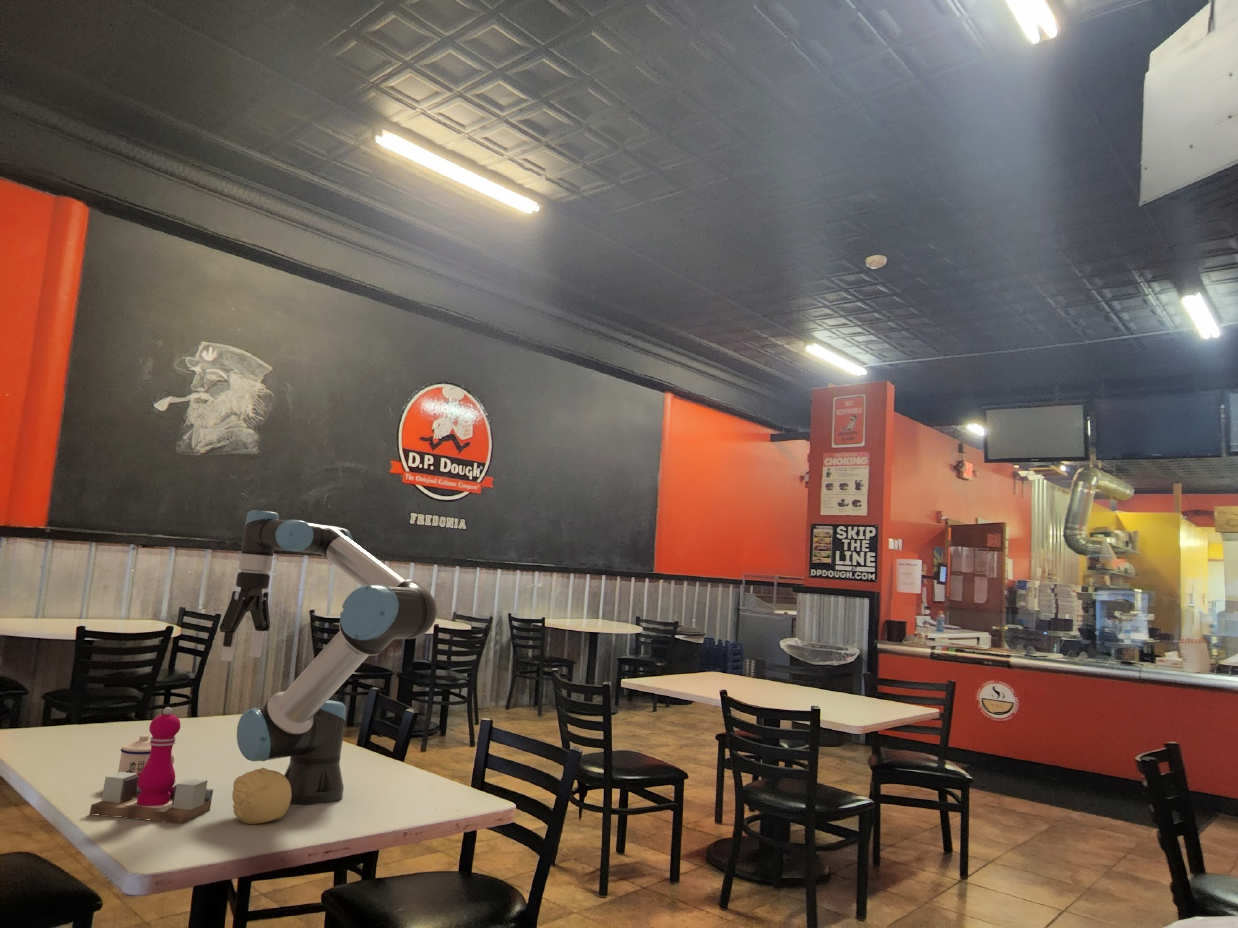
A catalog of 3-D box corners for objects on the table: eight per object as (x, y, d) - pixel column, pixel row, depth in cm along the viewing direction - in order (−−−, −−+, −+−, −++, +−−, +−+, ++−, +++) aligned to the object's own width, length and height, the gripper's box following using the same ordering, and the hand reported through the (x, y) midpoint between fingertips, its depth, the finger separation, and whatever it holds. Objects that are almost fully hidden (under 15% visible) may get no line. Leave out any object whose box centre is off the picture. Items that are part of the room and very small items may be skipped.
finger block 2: (203, 803, 176) (207, 780, 177) (190, 809, 171) (194, 785, 172) (183, 801, 177) (187, 778, 177) (170, 807, 172) (174, 783, 173)
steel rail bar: (211, 800, 179) (213, 789, 180) (208, 801, 178) (210, 790, 179) (125, 792, 181) (127, 780, 181) (122, 793, 179) (124, 782, 180)
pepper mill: (142, 808, 170) (158, 710, 173) (128, 800, 174) (143, 705, 177) (177, 802, 175) (192, 708, 178) (163, 796, 180) (177, 703, 183)
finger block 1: (136, 797, 177) (140, 773, 178) (121, 802, 172) (125, 778, 173) (116, 795, 177) (120, 771, 178) (101, 800, 173) (105, 776, 173)
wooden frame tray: (210, 809, 179) (211, 800, 179) (180, 823, 168) (182, 813, 168) (124, 801, 180) (125, 791, 181) (89, 814, 169) (91, 804, 170)
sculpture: (220, 817, 175) (228, 765, 177) (275, 810, 183) (282, 760, 185) (239, 830, 167) (247, 776, 168) (296, 822, 175) (303, 771, 177)
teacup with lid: (118, 791, 187) (127, 740, 189) (110, 783, 194) (119, 733, 196) (174, 787, 195) (182, 737, 197) (165, 778, 202) (173, 730, 204)
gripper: (263, 572, 214) (251, 654, 210) (212, 569, 189) (198, 660, 186) (291, 575, 213) (279, 656, 210) (243, 571, 189) (229, 663, 185)
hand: (241, 658), depth 198 cm, fingers open, 13 cm apart
